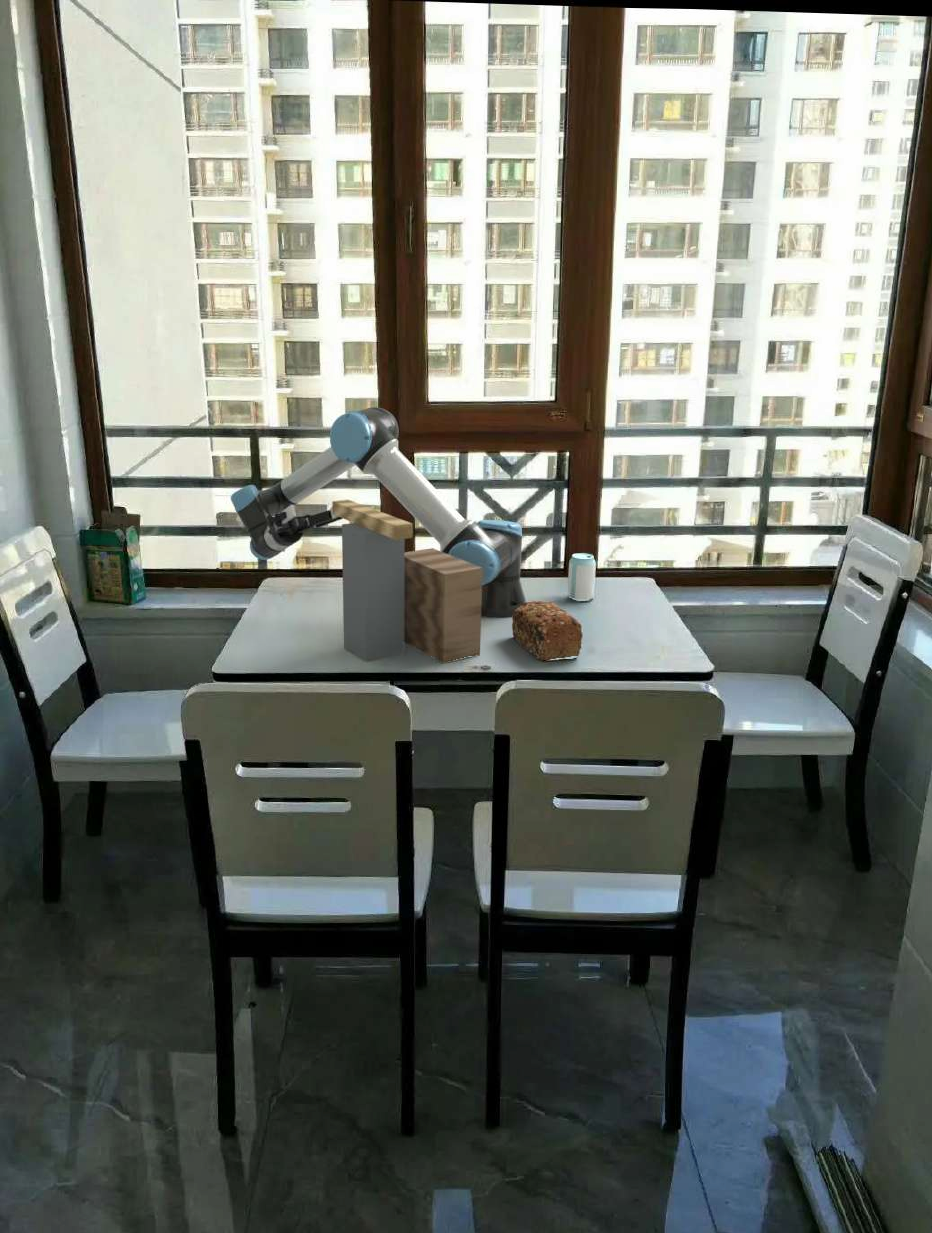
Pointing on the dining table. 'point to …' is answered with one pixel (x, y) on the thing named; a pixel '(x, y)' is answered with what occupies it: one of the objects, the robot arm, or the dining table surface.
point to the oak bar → (373, 519)
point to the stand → (372, 593)
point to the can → (581, 576)
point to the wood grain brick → (442, 605)
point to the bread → (547, 630)
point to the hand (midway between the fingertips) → (319, 507)
